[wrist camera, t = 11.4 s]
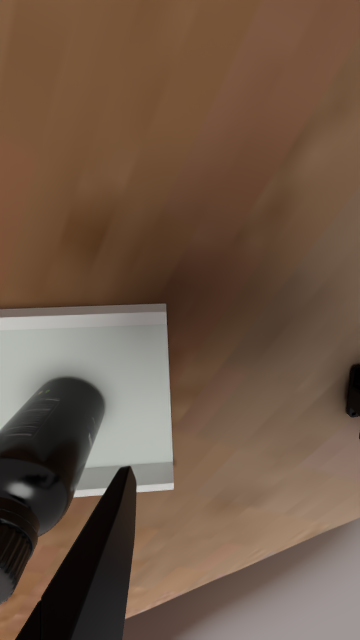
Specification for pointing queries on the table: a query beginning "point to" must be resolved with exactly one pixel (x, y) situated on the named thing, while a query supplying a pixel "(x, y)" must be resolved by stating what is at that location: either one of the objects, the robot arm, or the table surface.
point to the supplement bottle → (42, 467)
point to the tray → (99, 381)
